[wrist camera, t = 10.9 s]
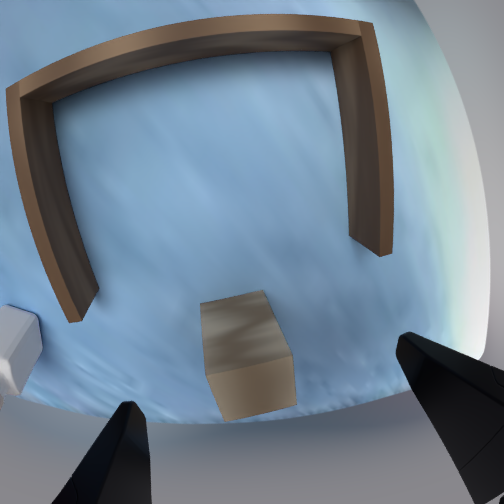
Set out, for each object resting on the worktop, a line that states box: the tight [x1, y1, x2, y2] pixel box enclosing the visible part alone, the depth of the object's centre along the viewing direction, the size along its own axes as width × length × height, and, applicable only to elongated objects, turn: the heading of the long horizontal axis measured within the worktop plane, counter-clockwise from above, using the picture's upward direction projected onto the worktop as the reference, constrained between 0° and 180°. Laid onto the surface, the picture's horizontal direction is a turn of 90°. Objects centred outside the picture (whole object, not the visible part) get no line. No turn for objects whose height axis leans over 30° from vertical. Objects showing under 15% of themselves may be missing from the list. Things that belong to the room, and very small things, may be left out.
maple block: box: [200, 290, 297, 422], centre depth 18 cm, size 4×4×7 cm
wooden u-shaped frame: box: [6, 14, 394, 323], centre depth 14 cm, size 20×14×4 cm
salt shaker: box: [0, 305, 43, 410], centre depth 13 cm, size 4×4×10 cm
